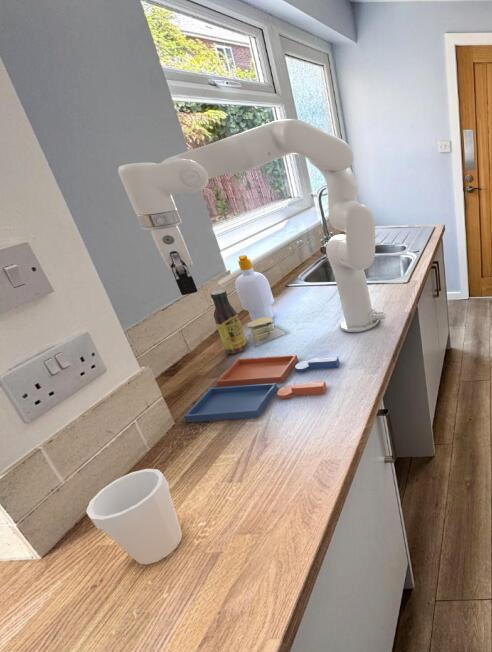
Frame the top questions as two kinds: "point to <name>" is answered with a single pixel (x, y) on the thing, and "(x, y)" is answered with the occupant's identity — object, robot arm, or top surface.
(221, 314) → the sauce bottle
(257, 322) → the stacked layers on plate
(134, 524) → the foam cup
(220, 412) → the blue tray
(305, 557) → the top surface
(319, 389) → the terracotta spoon
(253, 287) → the soap bottle
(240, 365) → the terracotta tray
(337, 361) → the blue spoon
